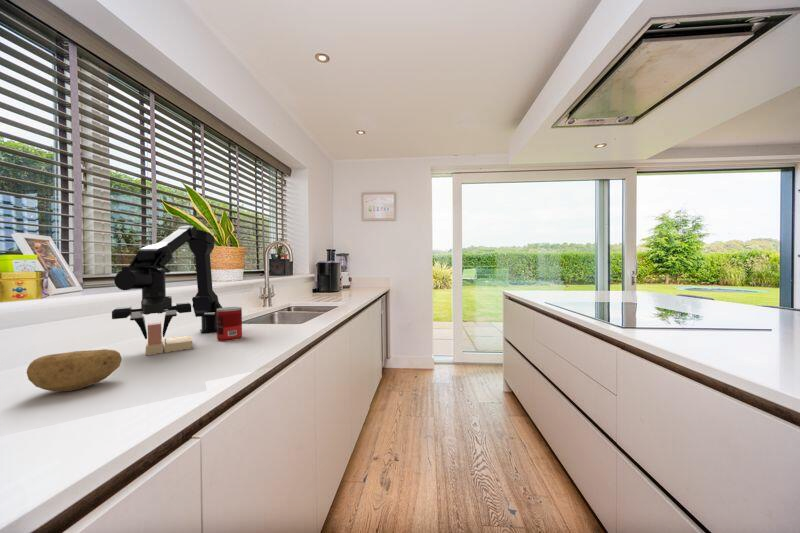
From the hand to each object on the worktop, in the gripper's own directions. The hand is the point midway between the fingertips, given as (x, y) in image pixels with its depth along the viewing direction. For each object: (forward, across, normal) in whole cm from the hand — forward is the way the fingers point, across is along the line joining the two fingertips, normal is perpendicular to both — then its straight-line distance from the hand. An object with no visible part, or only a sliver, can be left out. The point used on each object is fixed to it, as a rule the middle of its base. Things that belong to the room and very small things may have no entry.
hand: (154, 337), depth 93 cm
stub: (+4, 0, 0) cm, 4 cm away
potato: (+4, -12, -27) cm, 30 cm away
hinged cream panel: (+4, +6, 0) cm, 7 cm away
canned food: (+4, +21, +2) cm, 21 cm away
